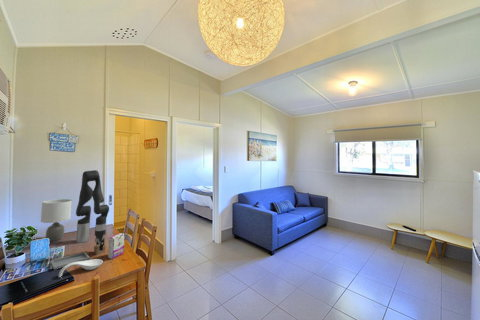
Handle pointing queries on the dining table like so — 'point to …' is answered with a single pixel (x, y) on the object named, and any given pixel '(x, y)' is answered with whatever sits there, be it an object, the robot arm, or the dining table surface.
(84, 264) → the spoon rest
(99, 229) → the robot arm
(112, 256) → the candy bar box
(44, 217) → the lamp
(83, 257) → the tray
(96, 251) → the cube
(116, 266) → the dining table surface
